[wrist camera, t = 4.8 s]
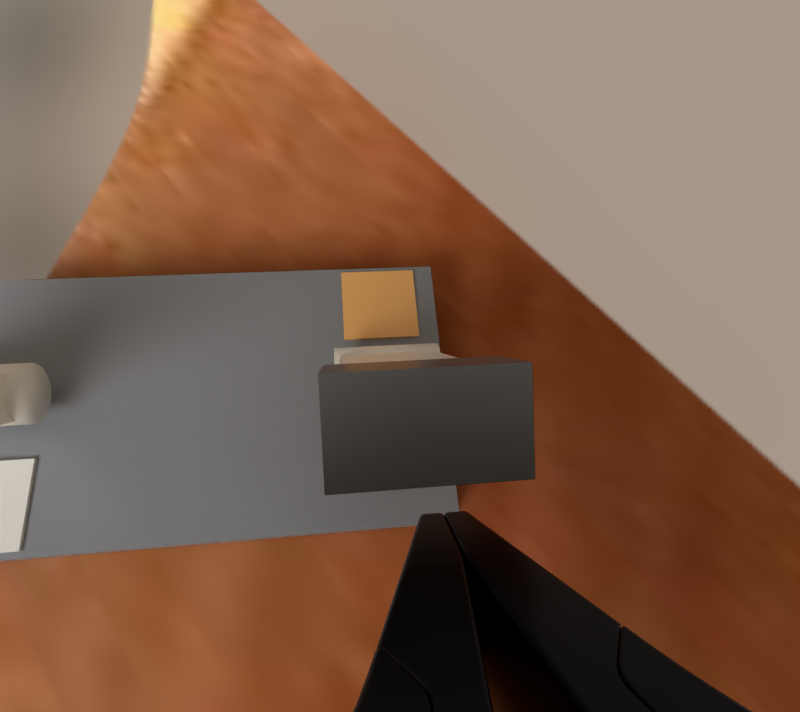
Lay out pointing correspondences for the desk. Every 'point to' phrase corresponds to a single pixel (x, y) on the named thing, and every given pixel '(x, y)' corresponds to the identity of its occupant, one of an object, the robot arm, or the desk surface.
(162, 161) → the desk surface
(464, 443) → the right lever
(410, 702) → the robot arm
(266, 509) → the switch base
